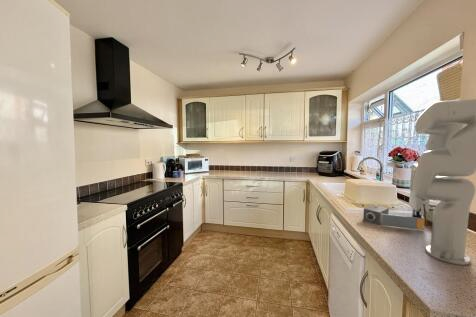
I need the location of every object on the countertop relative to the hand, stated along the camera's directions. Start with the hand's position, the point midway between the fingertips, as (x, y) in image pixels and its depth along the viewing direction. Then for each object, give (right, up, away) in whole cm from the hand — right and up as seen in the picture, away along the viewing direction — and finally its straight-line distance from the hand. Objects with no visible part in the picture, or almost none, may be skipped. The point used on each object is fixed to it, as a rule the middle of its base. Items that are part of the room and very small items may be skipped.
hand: (416, 222), depth 108 cm
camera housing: (-14, -2, +11) cm, 18 cm away
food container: (+12, -3, +5) cm, 13 cm away
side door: (-8, -3, 0) cm, 8 cm away
